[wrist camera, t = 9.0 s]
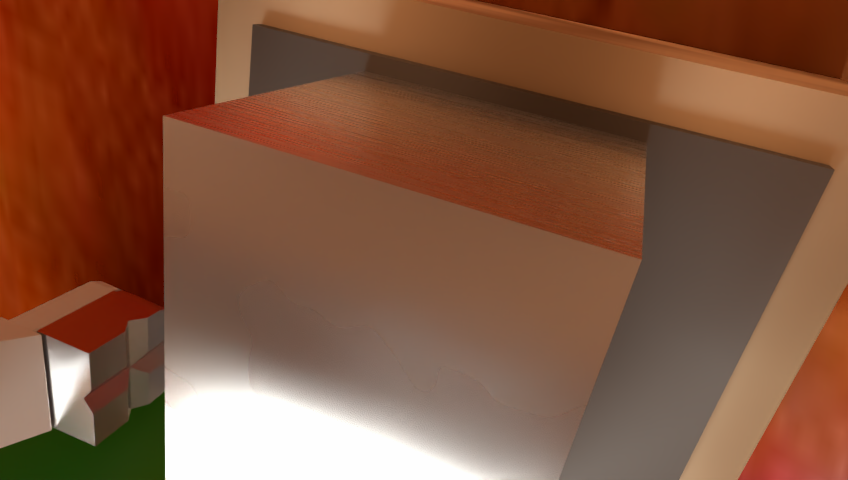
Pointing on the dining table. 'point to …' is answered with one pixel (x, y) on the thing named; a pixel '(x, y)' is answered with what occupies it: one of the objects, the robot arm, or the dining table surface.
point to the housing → (388, 283)
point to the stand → (663, 202)
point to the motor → (93, 452)
